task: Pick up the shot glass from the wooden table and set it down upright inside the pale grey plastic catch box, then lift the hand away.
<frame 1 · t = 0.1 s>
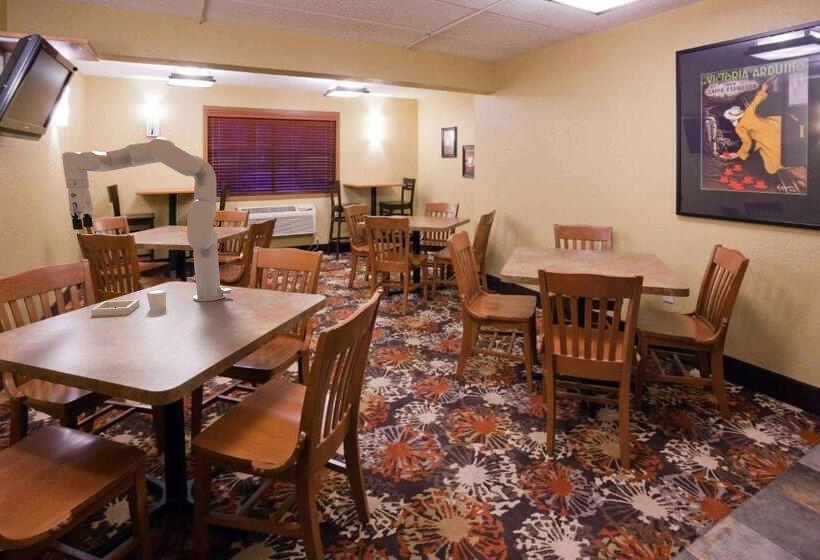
hand: (83, 228, 197), 31 cm above the table, tool pointing down, fingers open, 9 cm apart
catch box: (116, 310, 193), on the table
shot glass: (158, 309, 196), on the table
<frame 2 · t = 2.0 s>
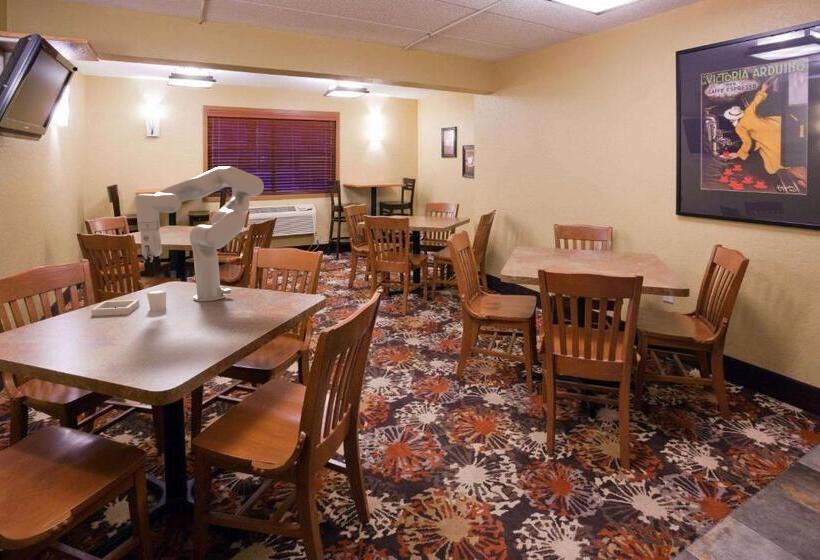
hand: (153, 270, 193), 16 cm above the table, tool pointing down, fingers open, 9 cm apart
nothing on the table moved.
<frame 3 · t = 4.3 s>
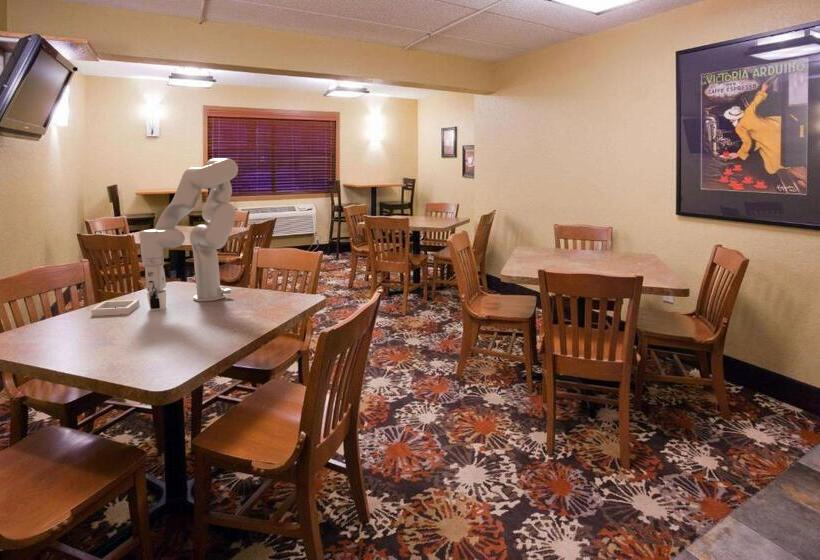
hand: (157, 305, 196), 1 cm above the table, tool pointing down, fingers closed on shot glass, 6 cm apart
shot glass: (158, 309, 196), on the table, touching gripper
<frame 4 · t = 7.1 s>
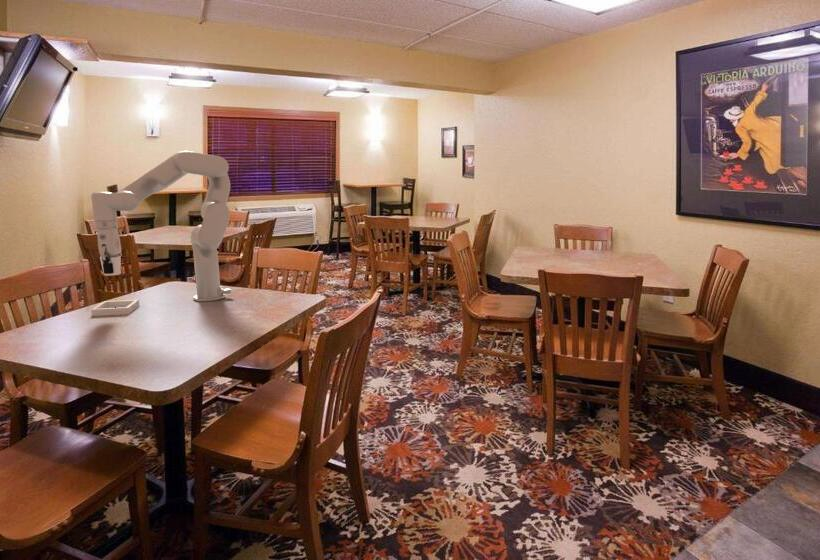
hand: (112, 271, 190), 16 cm above the table, tool pointing down, fingers closed on shot glass, 6 cm apart
shot glass: (112, 274, 190), point 14 cm above the table, touching gripper
when the fingers open (3 cm above the table, at t = 10.4 s): shot glass drops 2 cm, resting in catch box.
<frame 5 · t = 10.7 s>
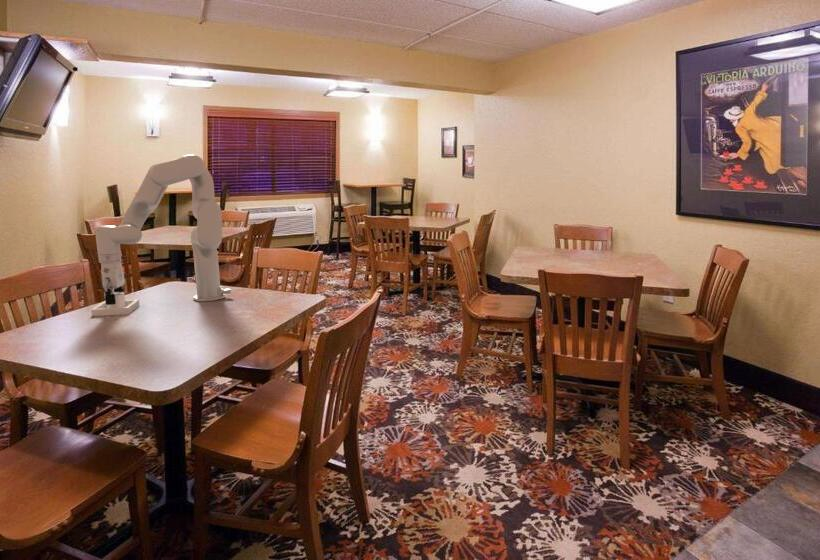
hand: (115, 301, 192), 4 cm above the table, tool pointing down, fingers open, 9 cm apart
shot glass: (116, 311, 193), resting in catch box
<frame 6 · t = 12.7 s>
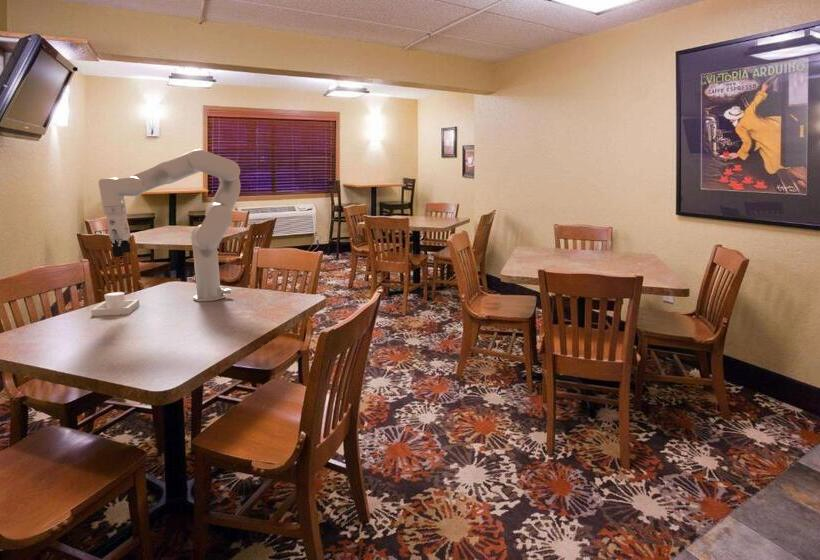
hand: (122, 254, 193), 21 cm above the table, tool pointing down, fingers open, 9 cm apart
nothing on the table moved.
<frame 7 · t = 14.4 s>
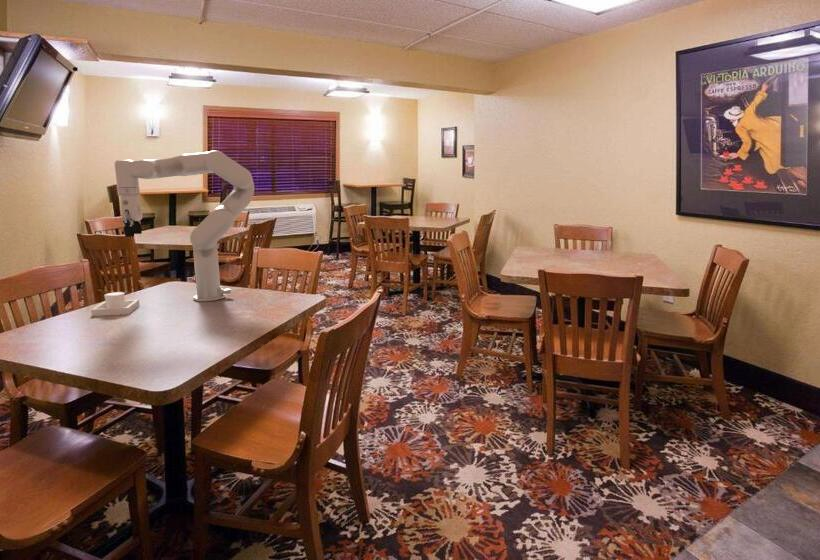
hand: (133, 235, 198), 28 cm above the table, tool pointing down, fingers open, 9 cm apart
nothing on the table moved.
at the end: shot glass 0.5 cm off-centre on the catch box, point 0.0 cm above the catch box's base; shot glass tilted 0°; the gripper is holding nothing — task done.
